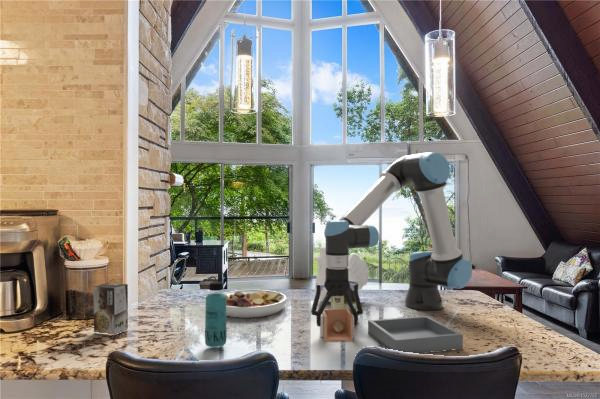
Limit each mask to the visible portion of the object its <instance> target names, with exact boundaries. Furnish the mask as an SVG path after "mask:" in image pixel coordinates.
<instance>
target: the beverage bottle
mask: <svg viewBox="0 0 600 399" xmlns="http://www.w3.org/2000/svg"><path fill="white" fill-rule="evenodd" d="M208 290H209V291H213V292H210V293H209V294H207V295H206V296H205V315H204V318H205V319H204V324H205V325H204V343H205V346H206V347H209V348H218V347H222V346H224V345H226V344H227V338H228V337H227V336H228V335H227V333H228V328H227V319H228V316H226V299H227V297H226V295H225V294H223V293H224V292H220V291H222V290H224V283H223V282H222V281H211V282H209V288H208Z"/></svg>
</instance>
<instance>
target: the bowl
mask: <svg viewBox="0 0 600 399" xmlns="http://www.w3.org/2000/svg"><path fill="white" fill-rule="evenodd" d="M222 293H223V294H225V295H226V297H227V299H226V316H227V317H229V316H230V317H231V318H237V317H238V318H241V319H250V318H252V319H253V318H254V317H255V318H262V317H267V316H272V315H274V314H277V313H279V312H280V311H282V310H283V309H284V307H285V306H286V304H287V296H286V295H285V293H284V294H283V293H282V292H278V291H274V290H266V289H239V290H232V291H226V292H222Z"/></svg>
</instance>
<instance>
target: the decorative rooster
mask: <svg viewBox="0 0 600 399" xmlns="http://www.w3.org/2000/svg"><path fill="white" fill-rule="evenodd" d="M314 260H315V261H316V262H317V264H316V266H317V268H316V272H317V275H316V279H315V284H314V290H315V292H316V284H324V283H325V280H326V268H327V266H326V246H321V247H320V248H319V255H317V256H316V257H314ZM347 268H348V281H353V282H357V283H358V291H360V290H362V289H363V287H364V286H366V285H367V284H368V281H369V277H370V269H369V267H368V265H367V262H366V261H365V260H364V258H362V257H360V255H359V254H358V253H356V252H351V253H350V254H349V255H348V267H347ZM326 293H327V290H326V288H325V287H324V288H323V290H322V291H321V294H320V298H319V300H321V302H322V301H323V299H324V298H325V296H326ZM328 303H331V298H330V299H329V301H328Z"/></svg>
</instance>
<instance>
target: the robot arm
mask: <svg viewBox="0 0 600 399" xmlns="http://www.w3.org/2000/svg"><path fill="white" fill-rule="evenodd" d="M450 173H451V168H450V163H449V161H448V160H447V158H446V157H445V156H444V155H443V154H441V153H439V152H436V151H432V152H431V151H430V152H429V151H428V152H421V153H414V154H413V153H412V154H407V155H403V156H401V157H400V158H398V159H396V160H395V161H394V162H393V163H391V164H390V165H389V166H388V167H387V168H385V169H384V171H382V172H381V173H380V174H379V179H378V180H377V181H376V182H375V183H374V184H373V185H372V186H370V188H369V189H367V191H366V192H365V193H364V194H363V195H362V196H361V197H360V198H359V199H358V200H357V201H356V202H355V203H354V204H353V205H352V206H351V207H350V209H349V210H347V211H346V212H345V214H344V215H342V217H340V219H337V220H332V219H331V220H328V221H326V223H325V224H326V225H325V229H324V232H323V233H324V238H325V247H326V266H327V268H326V280H325V283H324V284H316V291H315V294H314V298H313V301H312V302H313V303H312V306H311V310H310V312H311V315H313V316H315V317H316V326H317V327H319V336H320V338H324V337H323V316H322V312H323V311H324V309H326V307H327V305H328V303H329V302H328V301H329V299H330V298H331V296H344V298H345V300H346V302H347V304H348V306H349V307H350V309H351V311H352V313H353V314H352V315H353V338H354V337H355V326H358V323H357V316H358V317H359V315H362V314H363V313H364V311H363V308H362V303H361V299H360V296H359V290H358V285H357V284H356V283H354V284H350V283H349V281H348V268H347V267H348V258H349V255H350V254H349V249H362V248H367V249H369V248H373V247H375V246H376V245H378V243H379V240H380V238H379V236H380V233H379V230H378V229H377V228H376V226H374V225H367V224H365V222H367V220H369V218H370V217H371V216H372V215H373V214H374V213H375V212H376V211H378V210H379V208H380V207H381V206H382V205H383V204H384V203H385V202H386V201H387V200H388V199H389V197H391V196H392V194H393V193H397V192H399V191H400V190H401V189H402V188H403V187H405V186H409V185H413V188H414V191H415V193H417V194H419V195H420V199H421V204H422V208H423V211H424V213H423V214H424V215H425V216H424V217H425V220H426V225H427V228H428V233H429V237H430V242H431V247H432V250H425V251H424V250H423V251H413V252H411V253H410V254H409V257H408V259H409V260H408V272H409V273H408V276H409V277H408V278H409V280H408V281H409V282H408V283H409V284H408V289H407V292H406V296H405V300H404V305H405V306H406V307H407V308H411V309H413V310H420V311H437V310H441V309H443V300H442V296H441V293H440V291H439V286H442V287H448V288H450V289H458V290H459V289H463V288H465V287H466V286H467V285H468V284H469V282H470V281H471V278H472V275H473V267H472V266H473V265H472V263H471V262H470V261H469V260H468V259H467V258H464V257H463V256H464V255H463V252H462V249H460V248H458V247H457V245H456V239H455V235H454V232H453V226H452V223H451V219H450V213H449V210H448V205H447V200H446V196H445V192H444V189H445V187H446V186H447V181H448V180H449V178H450ZM324 287H325V288H326V290H327V293H326V296H325V298H324V299H323V301H322V300H321V303H320V305H319V306H318V304H319V300H320V294H321V291H322V290H323V288H324ZM349 287H351V290H353V294H354V298H355V302H356V306H357V309H358V310H355V308H354V307H353V305H352V303H351V301H350V299H349V297H348V295H347V293H346V291H347V290H348V289H349ZM317 308H318V309H317Z"/></svg>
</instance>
